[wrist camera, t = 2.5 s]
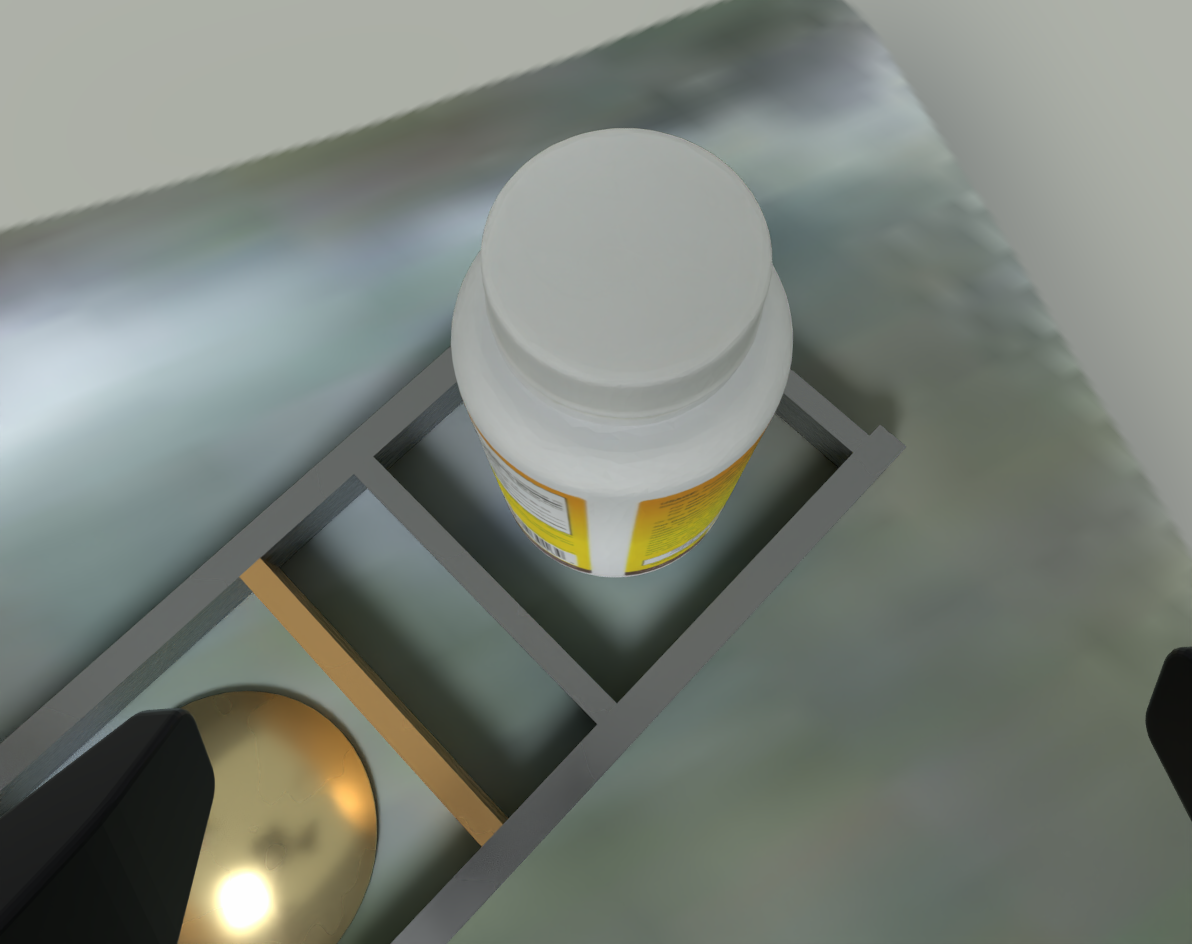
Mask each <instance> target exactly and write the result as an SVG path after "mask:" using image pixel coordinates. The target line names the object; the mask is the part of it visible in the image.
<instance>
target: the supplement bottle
mask: <svg viewBox="0 0 1192 944" xmlns="http://www.w3.org/2000/svg"><path fill="white" fill-rule="evenodd" d="M451 350H452V361H453V366H454V371H455V376H456V380H457V383H458V387H459V390H460V394H461V397H462V399H463V401H464V404H465V406H466V409H467V411H468V413H469V416H470V418H471V421H472V423H473V425H474V428H475V430H476V432H477V434H478V436H479V439H480V441H481V444H482V446H483V449H484V451H485V453H486V456H487V458H488V460H489V463H490V465H491V468H492V470H493V472H494V474H495V476H496V479H497V481H498V484H499V486H500V488H501V491H502V493H503V495H504V498H505V500H506V502H507V505H508V507H509V509H510V511H511V513H512V515H513V516H514V518H515V520H516V522H517V523H518V525H519V526H520V528H521V529H522V531H523V532H524V534H525V535H526V536H527V537H528V538H529V540H530V541H531V542H532V543H533V544H534V545H535V546H536V547H538V548H539V549H540V550H541V551H542V552H544V553H545V554H546V555H547V556H549V557H551V558H552V559H554V560H556V561H557V562H559V563H560V564H562V565H564V566H567V567H569V568H571V569H574V570H577V571H579V572H582V573H586V574H590V575H595V576H602V577H629V576H636V575H641V574H645V573H649V572H652V571H655V570H658V569H660V568H663V567H665V566H667V565H669V564H671V563H673V562H674V561H676V560H678V559H679V558H681V557H682V556H684V555H685V554H687V553H688V552H689V551H690V550H692V549H693V548H694V547H695V546H696V545H697V544H698V543H699V542H700V541H701V540H702V539H703V538H704V537H705V535H706V534H707V533H708V532H709V530H710V529H711V527H712V526H713V524H714V523H715V521H716V520H717V518H718V516H719V514H720V512H721V511H722V509H723V508H724V506H725V503H726V501H727V500H728V498H729V496H730V495H731V493H732V491H733V489H734V487H735V485H736V483H737V481H738V479H739V478H740V476H741V474H742V472H743V470H744V468H745V466H746V464H747V463H748V461H749V459H750V457H751V455H752V453H753V451H754V450H755V448H756V446H757V444H758V442H759V441H760V439H761V437H762V435H763V433H764V432H765V430H766V428H767V426H768V425H769V423H770V421H771V419H772V417H773V415H774V413H775V411H776V409H777V407H778V405H779V403H780V400H781V398H782V395H783V392H784V389H785V387H786V384H787V380H788V376H789V372H790V366H791V362H792V351H793V327H792V318H791V313H790V308H789V303H788V299H787V295H786V293H785V290H784V288H783V285H782V283H781V280H780V278H779V276H778V274H777V272H776V270H775V268H774V266H773V264H772V246H771V240H770V234H769V230H768V227H767V223H766V220H765V218H764V215H763V213H762V210H761V208H760V206H759V204H758V202H757V201H756V199H755V197H754V195H753V194H752V192H751V191H750V190H749V188H748V187H747V186H746V184H745V183H744V182H743V181H742V179H741V178H740V177H739V176H738V175H737V174H736V173H735V172H734V171H733V170H732V169H731V168H730V167H729V166H728V165H727V164H725V163H724V162H723V161H722V160H721V159H719V158H718V157H717V156H715V155H714V154H712V153H711V152H709V151H707V150H705V149H704V148H702V147H700V146H698V145H696V144H694V143H692V142H690V141H687V140H685V139H683V138H680V137H676V136H673V135H669V134H666V133H662V132H658V131H653V130H646V129H638V128H612V129H605V130H597V131H592V132H587V133H583V134H580V135H576V136H573V137H571V138H568V139H566V140H564V141H561V142H559V143H556V144H554V145H552V146H550V147H549V148H547V149H545V150H543V151H542V152H540V153H539V154H537V155H536V156H534V157H533V158H532V159H531V160H529V161H528V162H527V163H526V164H524V165H523V166H522V167H521V168H520V169H519V170H518V171H517V172H516V173H515V174H514V175H513V176H512V178H511V179H510V180H509V181H508V182H507V183H506V185H505V186H504V187H503V189H502V190H501V192H500V193H499V195H498V197H497V198H496V200H495V202H494V204H493V206H492V208H491V210H490V212H489V215H488V218H487V221H486V225H485V228H484V232H483V238H482V244H481V250H480V251H479V253H478V254H477V256H476V257H475V259H474V261H473V263H472V264H471V266H470V268H469V270H468V272H467V274H466V276H465V278H464V280H463V282H462V285H461V288H460V290H459V293H458V297H457V301H456V305H455V308H454V313H453V319H452V325H451Z"/></svg>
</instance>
